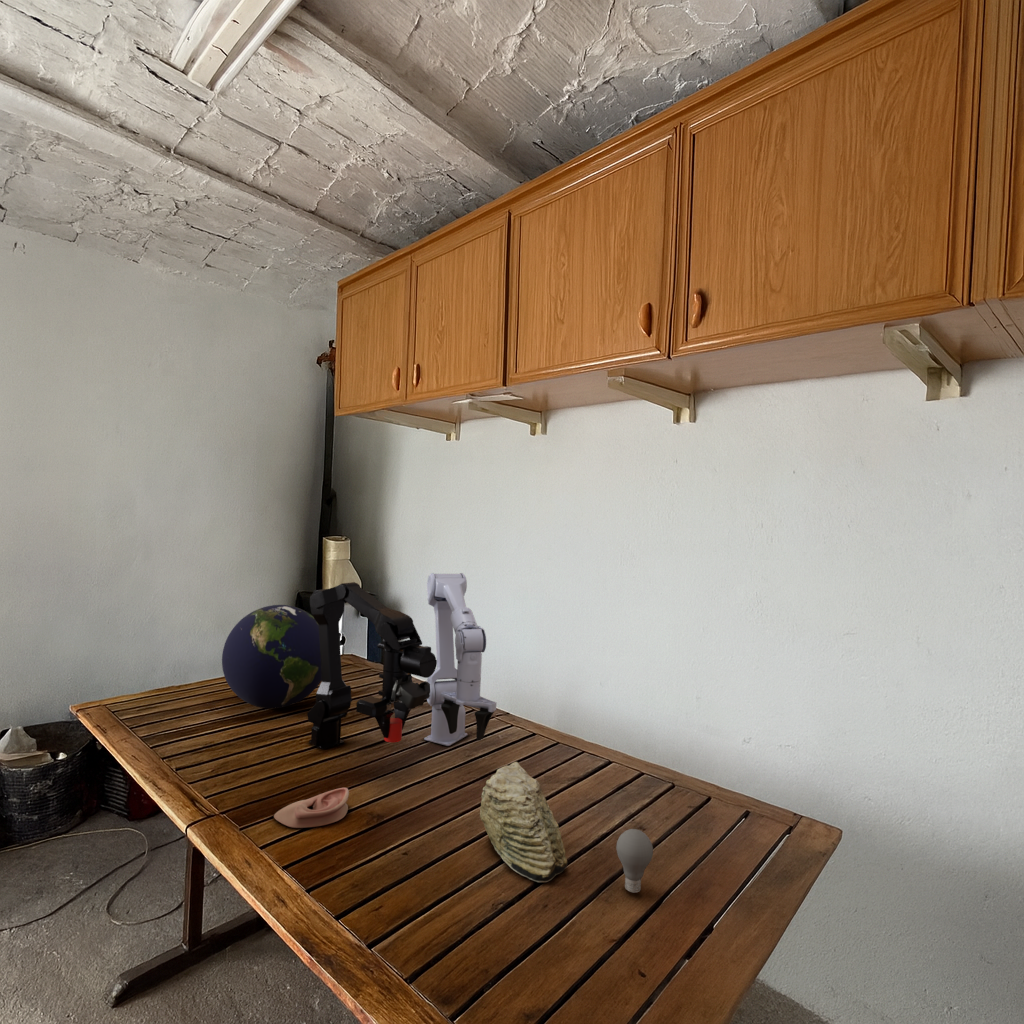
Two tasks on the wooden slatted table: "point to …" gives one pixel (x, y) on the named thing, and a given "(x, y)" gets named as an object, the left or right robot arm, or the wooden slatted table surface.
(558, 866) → the fossil
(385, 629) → the left robot arm
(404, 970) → the wooden slatted table surface
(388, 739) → the red cylinder
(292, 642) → the globe
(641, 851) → the light bulb
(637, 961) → the wooden slatted table surface
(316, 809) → the anatomical model
